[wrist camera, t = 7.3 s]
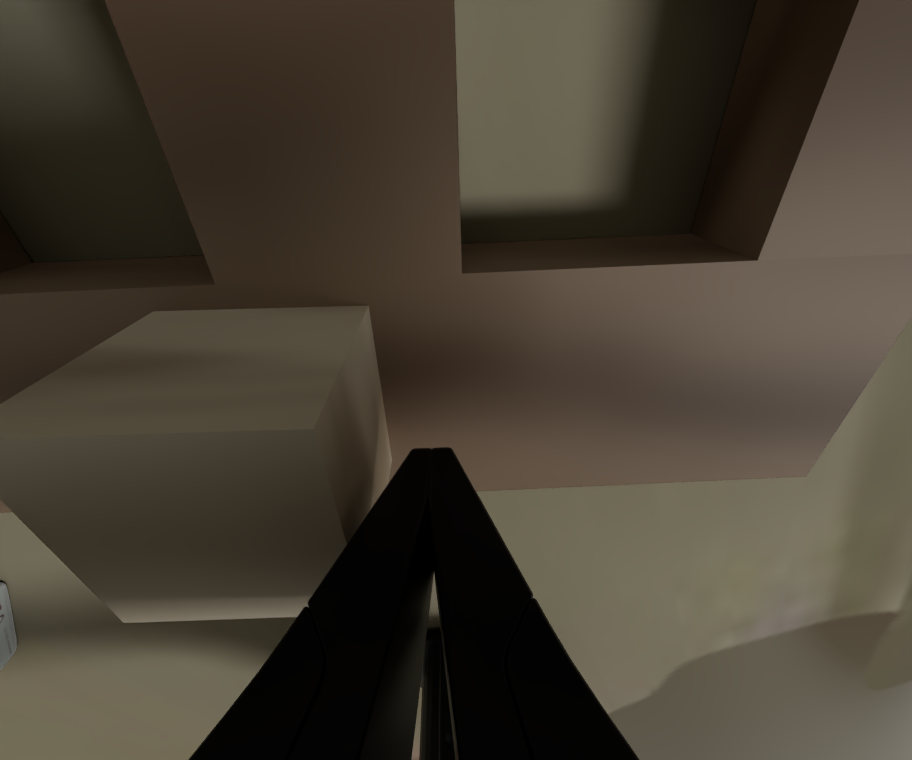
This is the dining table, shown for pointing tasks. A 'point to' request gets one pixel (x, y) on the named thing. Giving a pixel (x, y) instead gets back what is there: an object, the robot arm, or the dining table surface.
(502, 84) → the dining table surface
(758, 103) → the trap deck
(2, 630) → the supplement box
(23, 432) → the birch block
